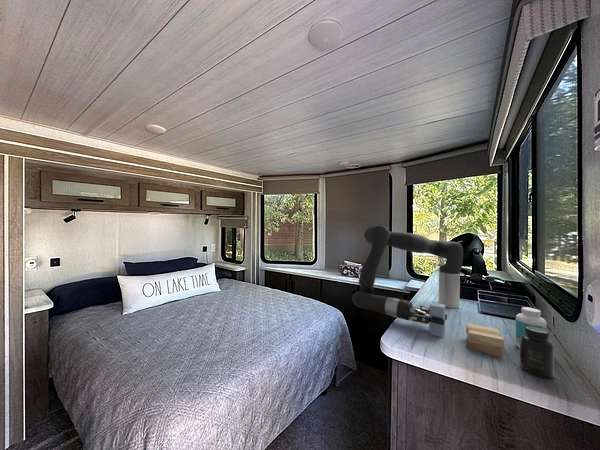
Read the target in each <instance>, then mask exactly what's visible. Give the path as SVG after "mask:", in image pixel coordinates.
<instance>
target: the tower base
mask: <svg viewBox="0 0 600 450" xmlns="http://www.w3.org/2000/svg"><path fill="white" fill-rule="evenodd" d="M465 348H467V349H471V350H474V351H478V352H480V353H484V354H489V355H491V356H495V357H498V358H501V357H502V349H500V348H496V347H491V346H487V345H482V344H478V343H473V342H469V339H468V336H466V340H465Z"/></svg>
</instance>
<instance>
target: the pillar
mask: <svg viewBox="0 0 600 450" xmlns="http://www.w3.org/2000/svg"><path fill="white" fill-rule="evenodd" d="M429 308H430V312H429V313H430V315H431V316H432V317H433V316H434V317H438V318H442V319H444V325H440V324H436V323H429V324H428V325H429V326H428V330H429V331H428V333H429V335H432V336H435V337H439V338H443V339H444V337H445V335H446V320H445V314H446V310H447V309H446V308H447V307H446V305H444V304H439V303H438V302H435V301H434V302H433V301H432V302H430V304H429Z"/></svg>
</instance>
